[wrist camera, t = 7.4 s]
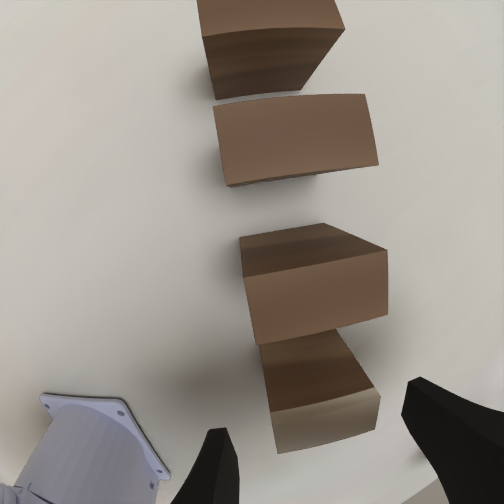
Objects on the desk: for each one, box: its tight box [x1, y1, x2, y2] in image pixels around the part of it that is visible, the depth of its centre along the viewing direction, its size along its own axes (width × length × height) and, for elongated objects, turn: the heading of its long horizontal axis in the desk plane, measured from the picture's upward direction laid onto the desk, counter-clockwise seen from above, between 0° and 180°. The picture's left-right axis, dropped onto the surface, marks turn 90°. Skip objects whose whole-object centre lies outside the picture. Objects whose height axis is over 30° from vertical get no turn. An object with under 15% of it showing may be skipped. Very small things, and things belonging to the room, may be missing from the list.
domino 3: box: [240, 223, 388, 345], centre depth 10 cm, size 2×4×6 cm, turn 99°
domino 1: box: [197, 0, 345, 100], centre depth 8 cm, size 2×4×6 cm, turn 100°
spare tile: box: [259, 329, 381, 454], centre depth 11 cm, size 2×4×6 cm, turn 99°
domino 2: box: [213, 94, 379, 187], centre depth 9 cm, size 2×4×6 cm, turn 100°
